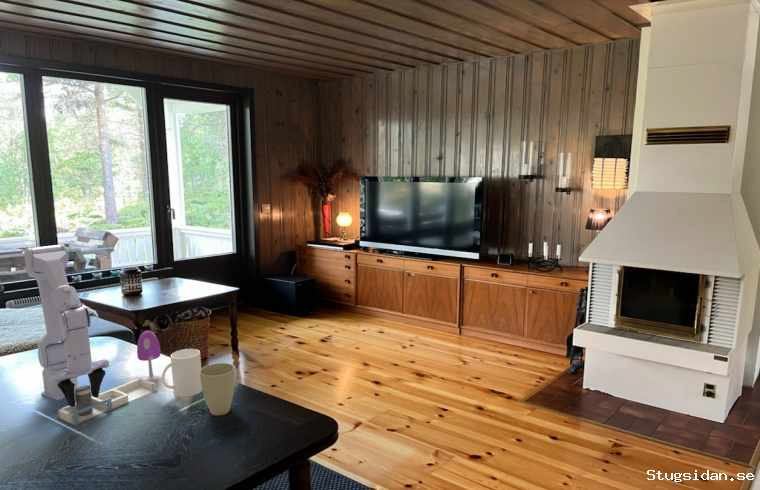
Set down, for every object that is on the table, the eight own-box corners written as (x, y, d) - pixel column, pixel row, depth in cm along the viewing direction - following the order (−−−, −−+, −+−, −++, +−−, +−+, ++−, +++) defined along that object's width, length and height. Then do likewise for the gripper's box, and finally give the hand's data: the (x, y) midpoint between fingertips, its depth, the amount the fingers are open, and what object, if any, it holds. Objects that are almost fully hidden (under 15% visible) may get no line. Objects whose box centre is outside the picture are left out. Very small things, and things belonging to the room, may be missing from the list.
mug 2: (246, 409, 144) (244, 367, 142) (213, 422, 136) (210, 379, 135) (225, 397, 151) (222, 357, 149) (192, 409, 144) (189, 368, 142)
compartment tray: (58, 419, 140) (56, 405, 139) (141, 386, 160) (140, 373, 159) (75, 427, 135) (73, 413, 135) (158, 392, 155) (157, 379, 155)
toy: (166, 374, 168) (163, 329, 166) (148, 382, 162) (143, 335, 160) (154, 370, 172) (150, 326, 169) (135, 377, 166) (130, 332, 164)
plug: (74, 414, 141) (71, 389, 140) (88, 408, 144) (85, 384, 143) (81, 417, 139) (78, 392, 138) (95, 411, 142) (93, 387, 141)
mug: (169, 405, 147) (166, 364, 145) (157, 396, 153) (153, 357, 151) (209, 391, 155) (206, 353, 153) (195, 383, 161) (192, 346, 159)
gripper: (57, 364, 131) (63, 415, 133) (113, 347, 143) (118, 394, 145) (43, 359, 135) (49, 409, 137) (98, 342, 147) (103, 388, 149)
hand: (83, 401), depth 141 cm, fingers open, 6 cm apart
